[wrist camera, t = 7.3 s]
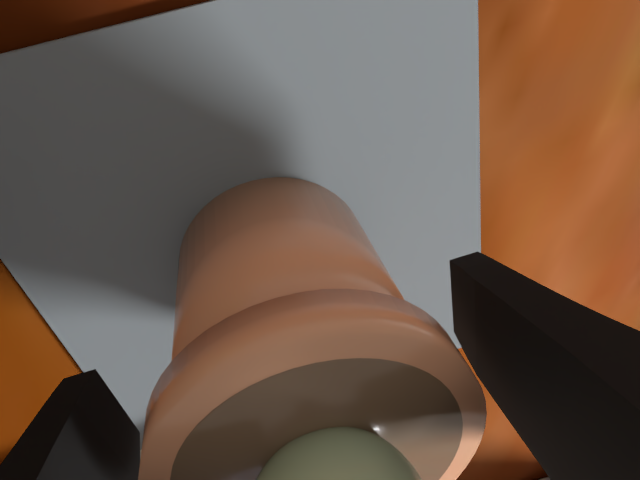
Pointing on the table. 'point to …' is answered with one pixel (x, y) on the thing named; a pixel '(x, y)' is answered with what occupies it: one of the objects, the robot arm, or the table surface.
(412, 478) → the terracotta pot
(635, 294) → the table surface
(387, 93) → the slate mat
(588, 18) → the table surface
